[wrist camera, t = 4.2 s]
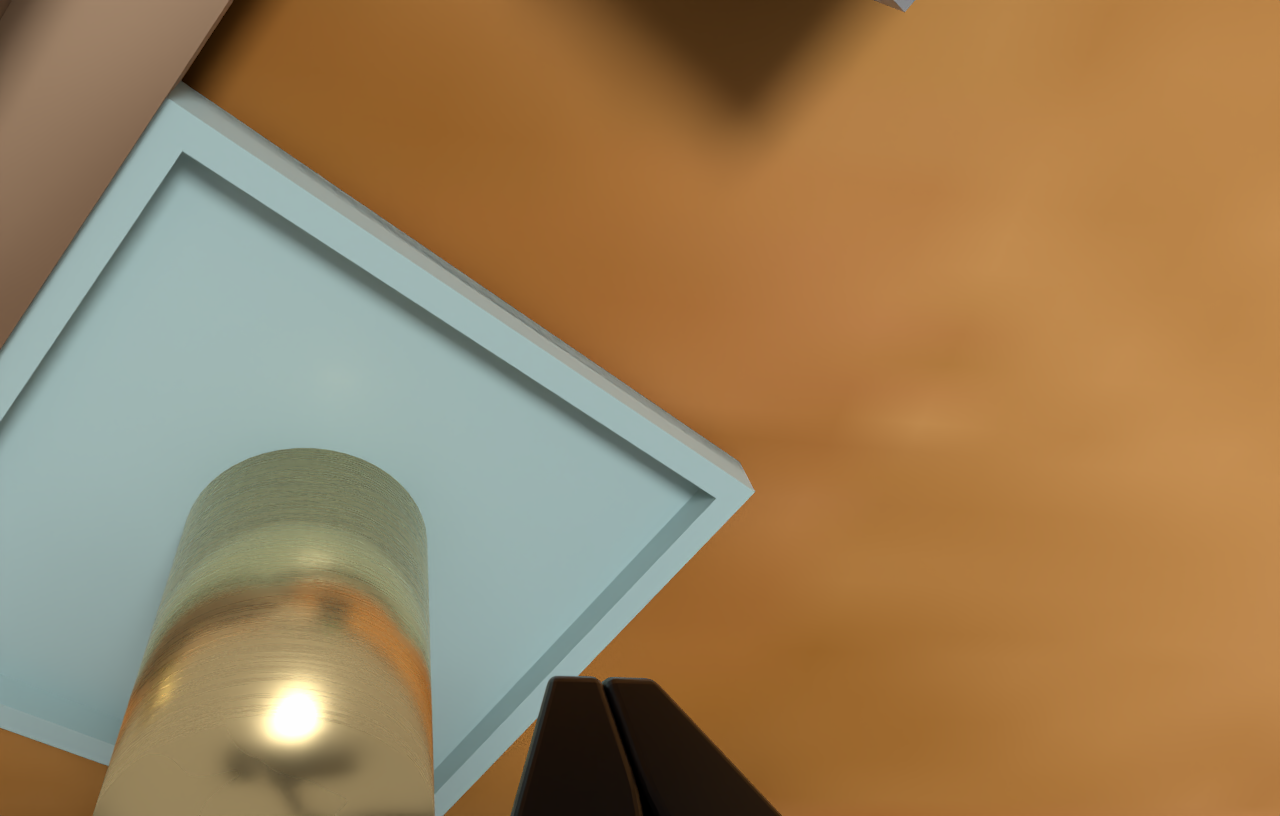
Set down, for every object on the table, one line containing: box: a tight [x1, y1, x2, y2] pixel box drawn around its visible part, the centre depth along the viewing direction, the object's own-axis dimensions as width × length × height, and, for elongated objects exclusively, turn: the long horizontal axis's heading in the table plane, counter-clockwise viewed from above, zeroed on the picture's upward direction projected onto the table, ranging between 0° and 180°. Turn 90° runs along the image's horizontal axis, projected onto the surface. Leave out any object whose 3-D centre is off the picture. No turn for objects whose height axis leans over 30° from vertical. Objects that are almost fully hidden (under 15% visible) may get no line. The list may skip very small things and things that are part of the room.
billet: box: [93, 448, 435, 816], centre depth 15 cm, size 4×4×6 cm
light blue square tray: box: [0, 81, 755, 816], centre depth 18 cm, size 11×11×1 cm
